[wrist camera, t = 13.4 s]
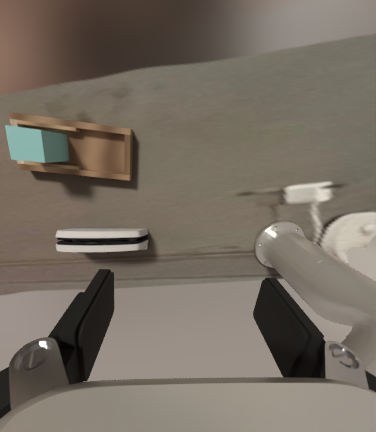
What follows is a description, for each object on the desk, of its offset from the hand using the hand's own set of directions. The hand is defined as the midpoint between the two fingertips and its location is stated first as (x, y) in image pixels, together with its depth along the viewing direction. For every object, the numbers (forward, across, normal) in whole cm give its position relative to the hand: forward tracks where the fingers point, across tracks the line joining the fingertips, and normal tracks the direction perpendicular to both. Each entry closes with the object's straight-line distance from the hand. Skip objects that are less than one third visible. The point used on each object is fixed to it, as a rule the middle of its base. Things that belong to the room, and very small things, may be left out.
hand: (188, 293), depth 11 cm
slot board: (+28, +19, -7) cm, 35 cm away
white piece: (+29, +14, +10) cm, 34 cm away
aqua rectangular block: (+27, +23, -7) cm, 36 cm away
